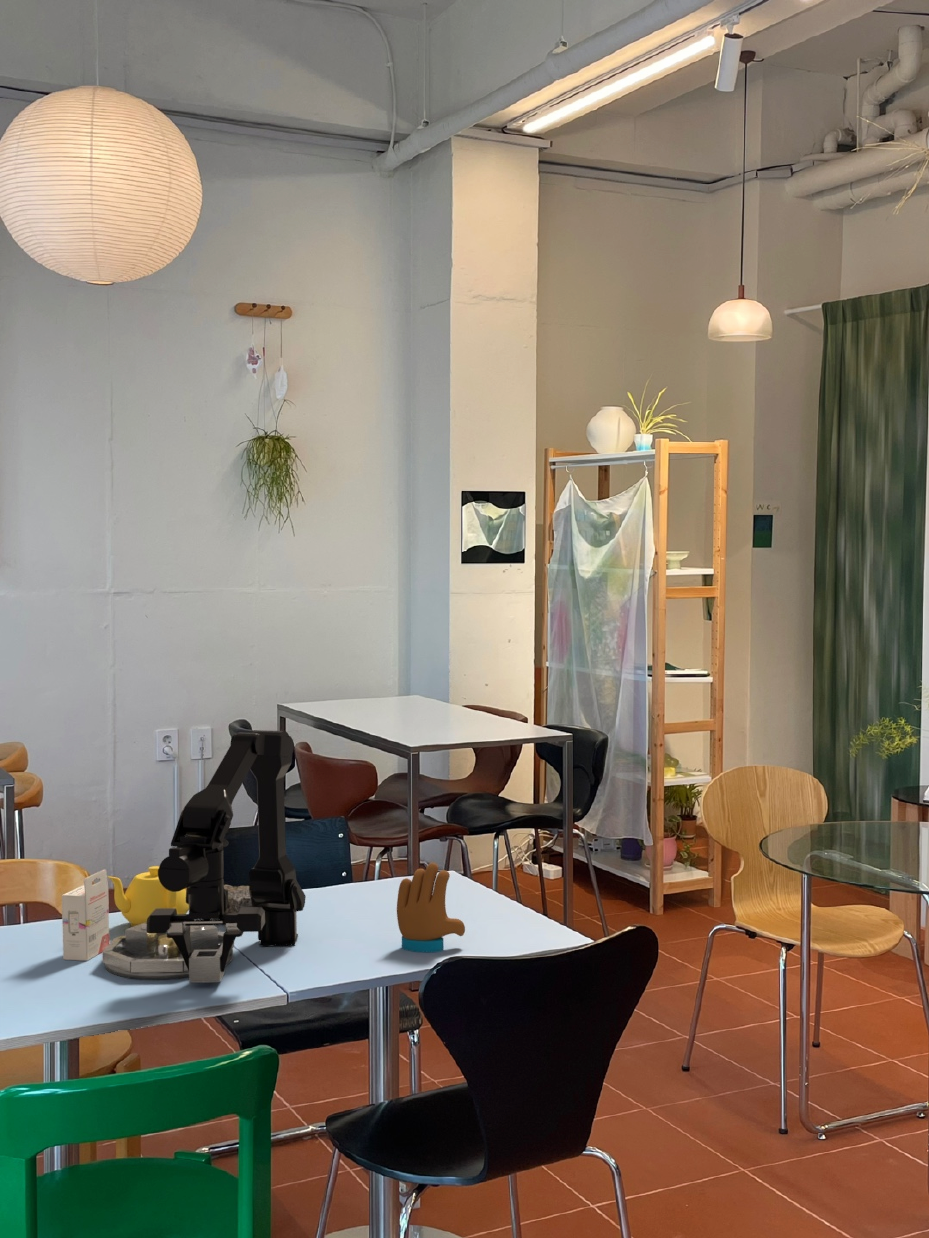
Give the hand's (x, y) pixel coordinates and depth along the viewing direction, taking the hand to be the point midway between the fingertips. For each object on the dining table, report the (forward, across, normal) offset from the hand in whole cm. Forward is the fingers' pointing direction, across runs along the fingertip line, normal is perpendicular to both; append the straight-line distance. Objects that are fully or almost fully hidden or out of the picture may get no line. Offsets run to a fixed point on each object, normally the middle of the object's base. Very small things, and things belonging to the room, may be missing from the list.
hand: (207, 971), depth 208 cm
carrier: (+2, +9, -14) cm, 17 cm away
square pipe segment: (+1, 0, 0) cm, 1 cm away
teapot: (+2, +16, -38) cm, 41 cm away
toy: (+2, -37, -20) cm, 42 cm away
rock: (+3, 0, -44) cm, 44 cm away
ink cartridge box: (+2, +25, -19) cm, 32 cm away
